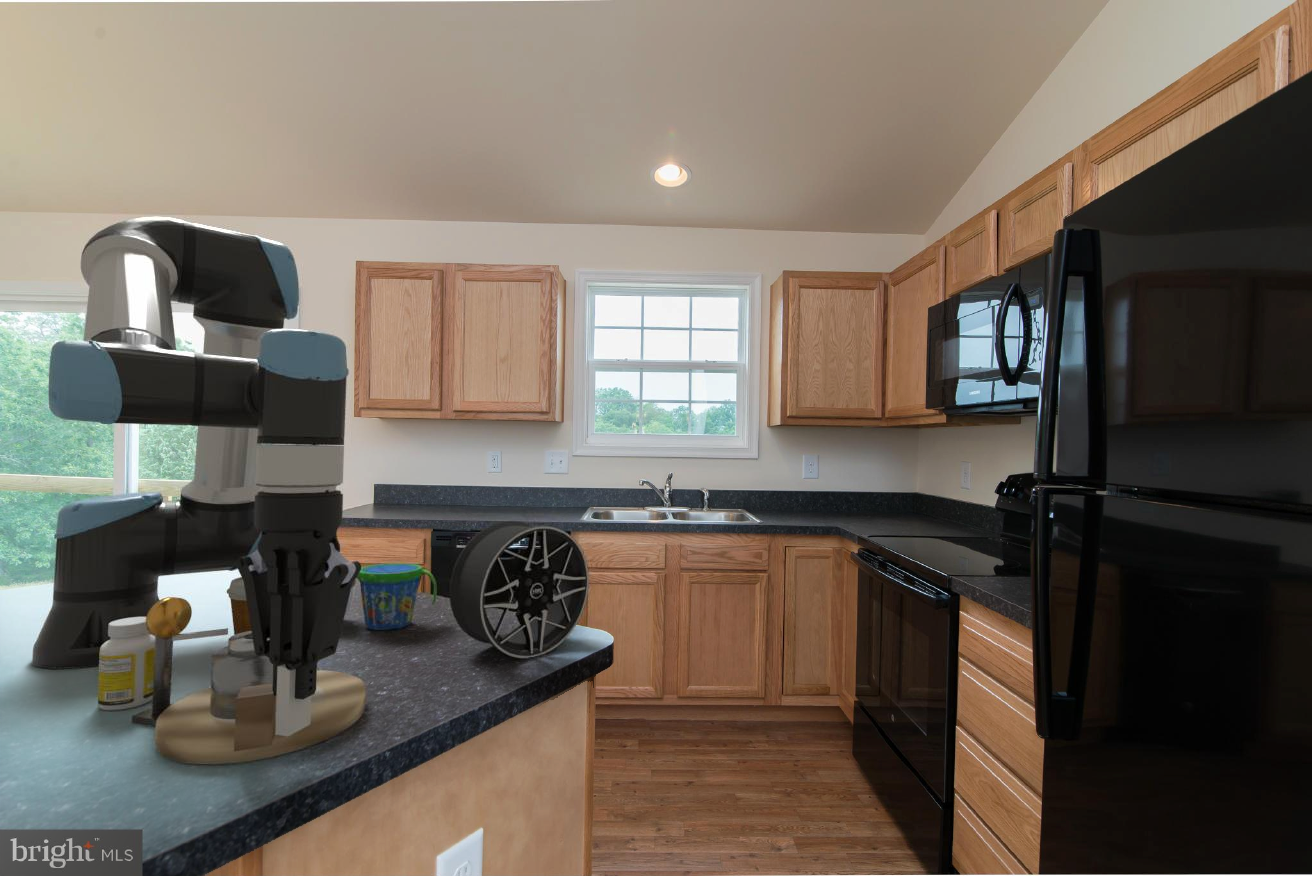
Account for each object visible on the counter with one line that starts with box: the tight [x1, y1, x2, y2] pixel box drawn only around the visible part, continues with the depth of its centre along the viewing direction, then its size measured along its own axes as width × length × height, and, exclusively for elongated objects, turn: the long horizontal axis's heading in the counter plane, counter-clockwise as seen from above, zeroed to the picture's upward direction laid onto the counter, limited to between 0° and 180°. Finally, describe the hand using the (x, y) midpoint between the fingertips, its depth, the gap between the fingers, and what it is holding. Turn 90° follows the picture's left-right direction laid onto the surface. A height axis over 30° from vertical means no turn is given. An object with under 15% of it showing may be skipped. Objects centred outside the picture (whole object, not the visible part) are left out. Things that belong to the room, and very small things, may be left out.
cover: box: [210, 631, 277, 719], centre depth 69 cm, size 8×8×8 cm
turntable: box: [154, 669, 367, 765], centre depth 69 cm, size 22×20×7 cm
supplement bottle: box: [97, 617, 155, 712], centre depth 74 cm, size 5×5×10 cm
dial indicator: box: [131, 596, 229, 728], centre depth 71 cm, size 6×7×14 cm
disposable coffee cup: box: [226, 576, 251, 635], centre depth 88 cm, size 10×10×12 cm
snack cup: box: [356, 562, 438, 631], centre depth 108 cm, size 16×10×10 cm
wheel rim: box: [448, 520, 590, 659], centre depth 97 cm, size 20×9×20 cm, turn 136°
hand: (293, 729), depth 60 cm, fingers closed
